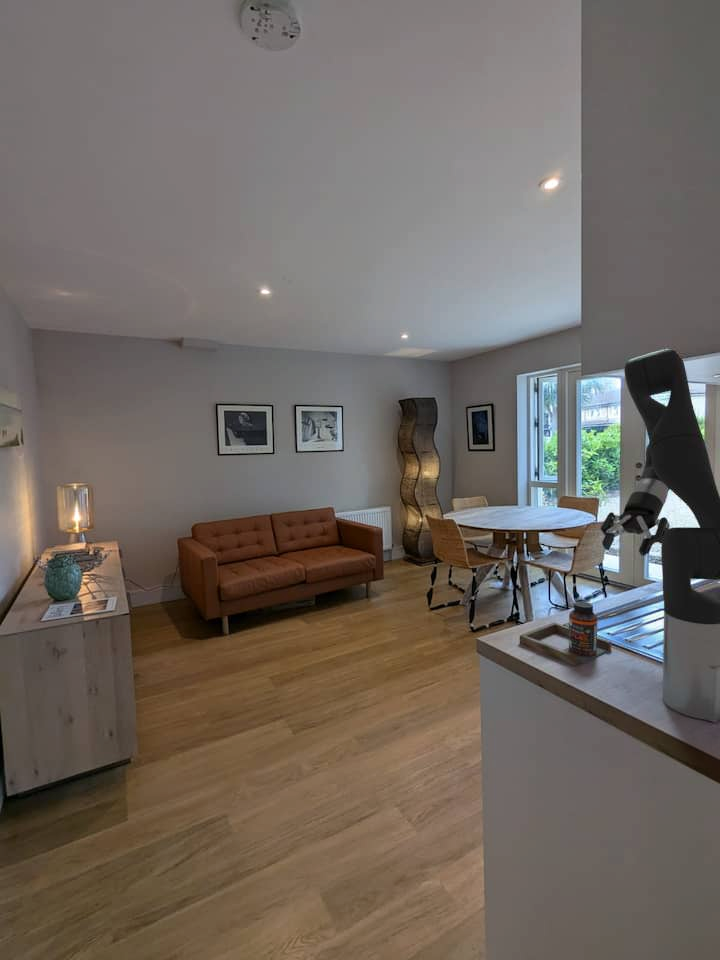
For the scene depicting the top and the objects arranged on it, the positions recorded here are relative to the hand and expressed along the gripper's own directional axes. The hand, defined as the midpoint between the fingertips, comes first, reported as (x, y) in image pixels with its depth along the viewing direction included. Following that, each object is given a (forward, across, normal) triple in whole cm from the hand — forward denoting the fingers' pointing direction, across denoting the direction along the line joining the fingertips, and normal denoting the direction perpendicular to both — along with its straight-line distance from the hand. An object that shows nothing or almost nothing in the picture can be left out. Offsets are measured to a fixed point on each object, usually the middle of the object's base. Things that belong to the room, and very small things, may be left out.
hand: (623, 550), depth 111 cm
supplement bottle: (+26, -2, +6) cm, 26 cm away
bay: (+26, -6, +6) cm, 27 cm away
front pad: (+26, -2, +6) cm, 27 cm away
